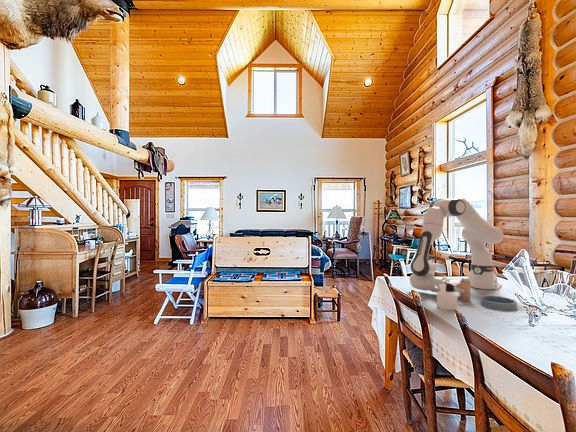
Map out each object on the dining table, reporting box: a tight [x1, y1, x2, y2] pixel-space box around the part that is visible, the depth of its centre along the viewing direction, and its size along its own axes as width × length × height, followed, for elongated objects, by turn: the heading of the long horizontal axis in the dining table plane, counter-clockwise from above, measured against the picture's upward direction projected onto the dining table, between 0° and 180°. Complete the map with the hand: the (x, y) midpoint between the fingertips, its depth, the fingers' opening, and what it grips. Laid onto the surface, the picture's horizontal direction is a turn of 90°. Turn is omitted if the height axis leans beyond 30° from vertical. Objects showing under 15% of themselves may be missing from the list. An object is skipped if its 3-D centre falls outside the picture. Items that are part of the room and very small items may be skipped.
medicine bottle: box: [436, 283, 459, 311], centre depth 151 cm, size 7×7×12 cm
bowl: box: [479, 295, 518, 311], centre depth 154 cm, size 15×15×3 cm
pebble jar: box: [459, 277, 471, 302], centre depth 164 cm, size 5×5×12 cm
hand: (466, 289), depth 164 cm, fingers open, 8 cm apart
